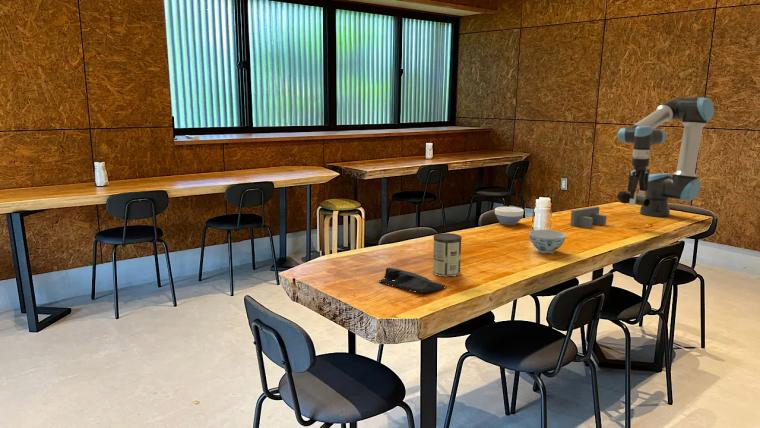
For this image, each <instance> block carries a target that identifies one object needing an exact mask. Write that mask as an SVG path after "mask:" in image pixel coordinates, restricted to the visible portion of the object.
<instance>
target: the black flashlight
mask: <svg viewBox="0 0 760 428" xmlns="http://www.w3.org/2000/svg"><path fill="white" fill-rule="evenodd" d="M616 198H617V199H618V200H619V202H620V203H622V204H625V205H626V204H629V202H630V192H627V191H626V190H625V191H624V190H622V191H619V192H618V193H617V195H616ZM635 205H638V206H641V207H642V206H645V207H648V206H649V205H650V199H648V198H645V196H644V197H640V196H638V195H636V202H635Z"/></svg>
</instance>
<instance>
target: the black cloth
mask: <svg viewBox="0 0 760 428" xmlns="http://www.w3.org/2000/svg"><path fill="white" fill-rule="evenodd" d="M384 278H385V279H384ZM392 280H395V281H392ZM379 281H381V282H383V283H382V284H385V283H387V284H389V285H393V286H396V287H401V288H400V289H402V288H404V289H403V290H405V289H407V290H406V291H409V290H411V291H410V292H412V291H416V292H420V293H419V294H425V293H426V294H427V293H430V291H431V292H435V291H434V290H437V291H441V290H440V289H442V288H444V287H445V286H446V285H445V284H442V283H438V282H435V281H432V280H431V279H428V278H427V277H425V276H423V275H420V274H417V273H414V272H411V271H406V270H403V269H399V268H394V267H387V268H386V269H385V273H384V277H383V278H382V279H379V280H378V282H379ZM381 282H380V283H381ZM387 284H386V285H387ZM389 285H388V286H389ZM393 286H392V287H393ZM396 287H395V288H396ZM442 290H443V289H442ZM416 292H415V293H416Z"/></svg>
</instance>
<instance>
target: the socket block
mask: <svg viewBox="0 0 760 428" xmlns="http://www.w3.org/2000/svg"><path fill="white" fill-rule="evenodd" d="M570 214H571V215H570V226H571V227H583V228H587V229H592V228H593V224H594V225H599V226H606V224H607V215H605V214H601V213H600V206H591V207H583V208H578V209H572V210H571V213H570Z"/></svg>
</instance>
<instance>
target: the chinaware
mask: <svg viewBox="0 0 760 428" xmlns="http://www.w3.org/2000/svg"><path fill="white" fill-rule="evenodd" d="M566 236H567V235H566V233H564V232H562V231H557V230H552V229H534V230H531V231H529V232H528V237H529V240H530V242H531V244H532V245H533V247H535V249H537V251H538V252H539V253H542V254H546V253H551V254H554V253H555V251H556V250H558V249H560V248H561V247H562V246H563V244H564V243H565V241H566Z"/></svg>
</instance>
